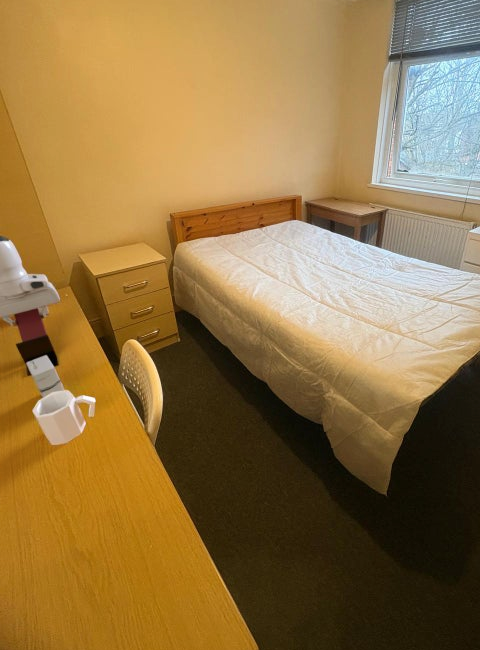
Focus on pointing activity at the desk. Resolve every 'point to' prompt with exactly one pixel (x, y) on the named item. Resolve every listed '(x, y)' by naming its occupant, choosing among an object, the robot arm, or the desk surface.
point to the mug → (62, 416)
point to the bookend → (37, 350)
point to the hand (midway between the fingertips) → (29, 321)
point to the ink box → (45, 375)
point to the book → (30, 324)
